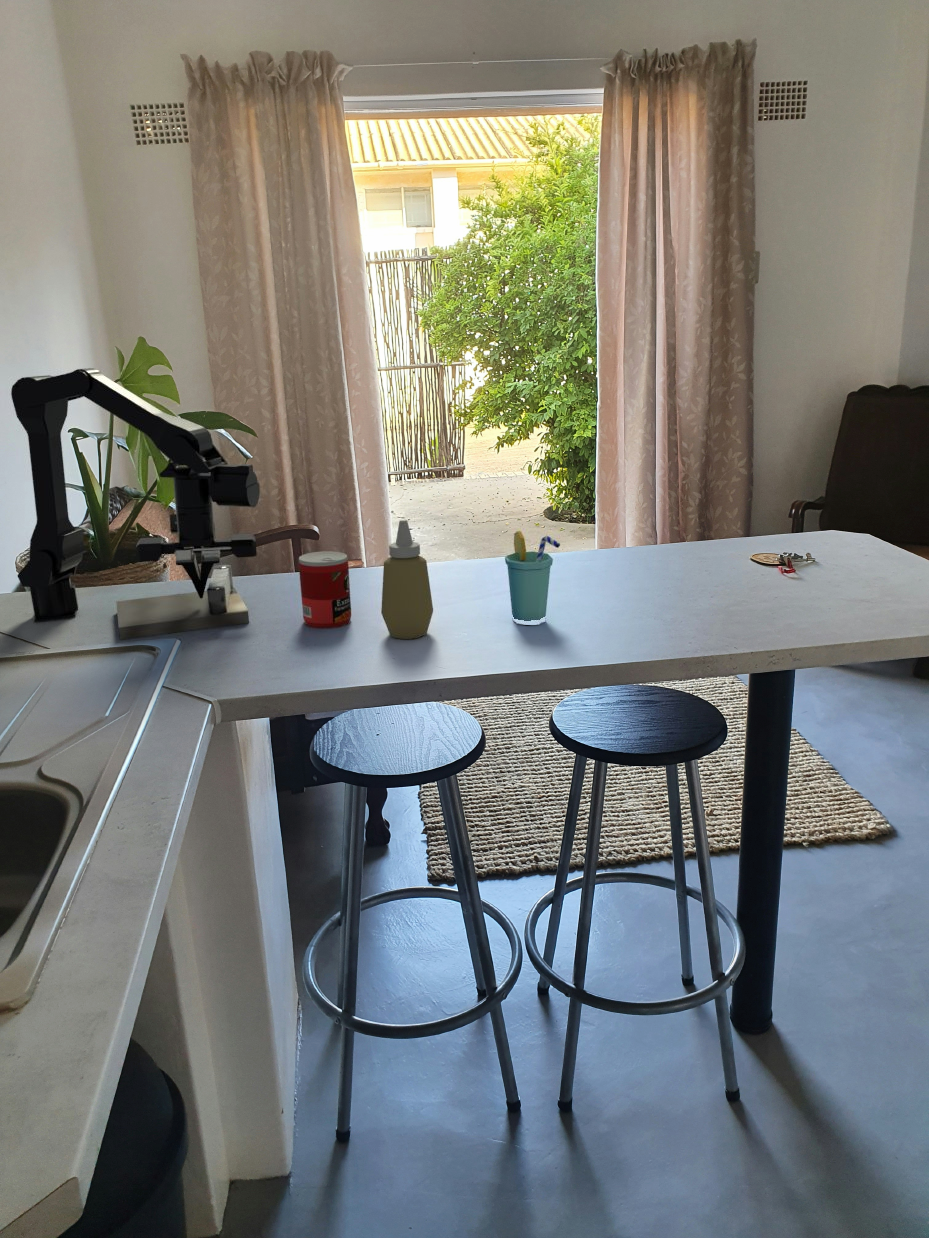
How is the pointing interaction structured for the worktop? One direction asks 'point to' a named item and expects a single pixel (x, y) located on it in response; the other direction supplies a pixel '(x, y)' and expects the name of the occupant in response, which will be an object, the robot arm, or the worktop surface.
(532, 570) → the cup
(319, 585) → the canned food
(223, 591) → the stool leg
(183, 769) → the worktop surface
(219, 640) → the worktop surface
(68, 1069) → the worktop surface
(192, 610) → the wooden board
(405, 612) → the squeeze bottle
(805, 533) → the worktop surface
